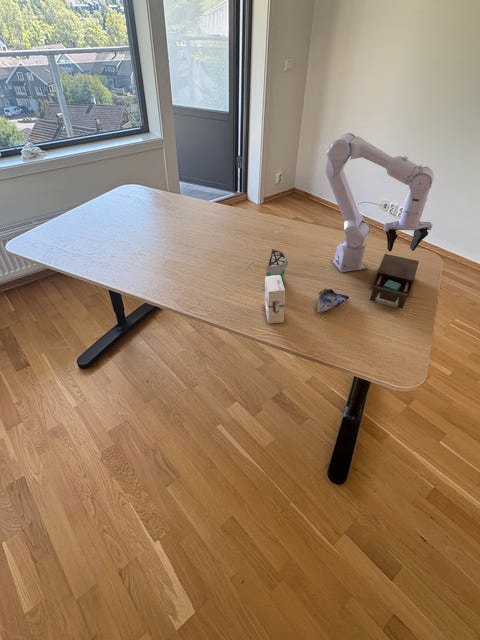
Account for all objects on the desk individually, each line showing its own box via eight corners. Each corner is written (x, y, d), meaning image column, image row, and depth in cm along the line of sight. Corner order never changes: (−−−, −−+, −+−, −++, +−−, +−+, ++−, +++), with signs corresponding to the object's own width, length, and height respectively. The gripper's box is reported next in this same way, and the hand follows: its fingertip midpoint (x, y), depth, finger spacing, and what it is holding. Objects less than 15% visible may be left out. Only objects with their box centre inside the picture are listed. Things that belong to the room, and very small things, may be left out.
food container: (283, 294, 115) (286, 269, 108) (265, 292, 116) (266, 267, 109) (287, 274, 124) (289, 249, 117) (270, 272, 125) (271, 248, 118)
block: (392, 300, 109) (396, 289, 106) (380, 295, 111) (383, 285, 108) (397, 294, 111) (401, 284, 108) (385, 289, 113) (389, 279, 110)
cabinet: (407, 297, 113) (413, 280, 108) (372, 288, 117) (377, 271, 112) (412, 277, 121) (419, 261, 117) (380, 269, 125) (384, 253, 121)
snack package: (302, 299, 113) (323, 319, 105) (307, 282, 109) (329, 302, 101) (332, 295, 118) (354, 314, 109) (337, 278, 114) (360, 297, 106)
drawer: (400, 317, 104) (405, 304, 101) (366, 308, 107) (370, 295, 104) (408, 288, 115) (412, 275, 112) (377, 280, 119) (381, 268, 115)
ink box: (263, 306, 110) (264, 275, 102) (279, 305, 110) (281, 274, 103) (267, 324, 104) (269, 292, 96) (283, 323, 104) (286, 291, 96)
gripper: (430, 204, 110) (417, 243, 119) (384, 206, 110) (375, 244, 119) (440, 213, 104) (426, 253, 113) (392, 215, 105) (381, 254, 113)
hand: (400, 249), depth 116 cm, fingers open, 7 cm apart
